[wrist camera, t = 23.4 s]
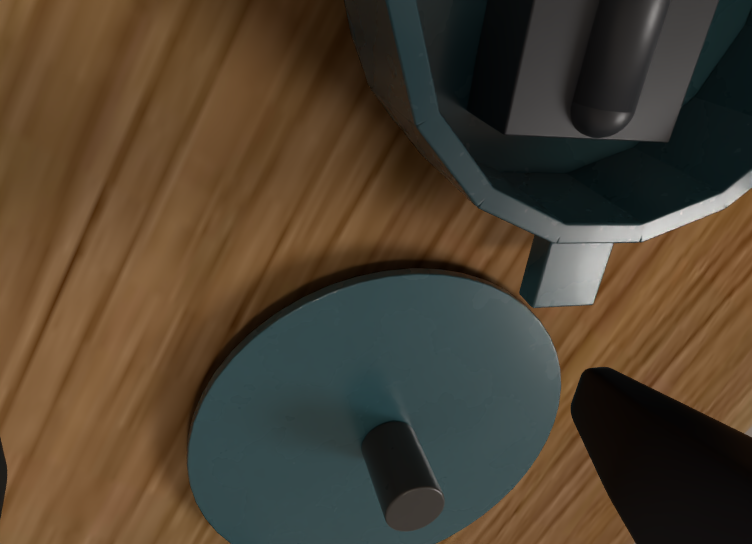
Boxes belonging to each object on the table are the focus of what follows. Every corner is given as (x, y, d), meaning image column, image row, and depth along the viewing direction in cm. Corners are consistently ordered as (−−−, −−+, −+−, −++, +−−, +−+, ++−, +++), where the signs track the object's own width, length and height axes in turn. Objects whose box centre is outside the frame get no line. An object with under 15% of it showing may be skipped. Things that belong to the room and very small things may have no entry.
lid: (192, 575, 28) (193, 682, 24) (179, 265, 20) (179, 346, 16) (505, 522, 33) (549, 603, 29) (591, 255, 25) (667, 316, 21)
